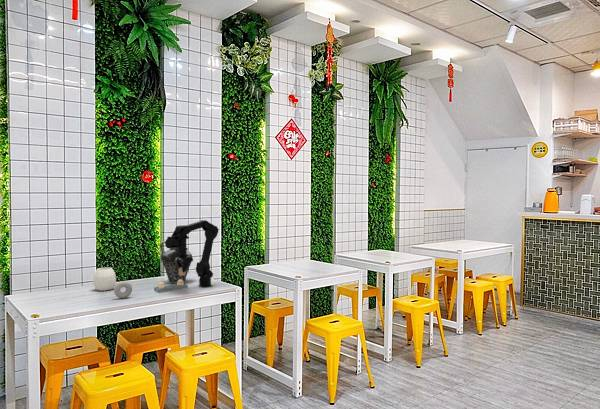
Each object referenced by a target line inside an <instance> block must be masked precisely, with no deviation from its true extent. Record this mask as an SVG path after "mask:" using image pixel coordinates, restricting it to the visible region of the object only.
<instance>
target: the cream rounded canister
mask: <svg viewBox="0 0 600 409" xmlns="http://www.w3.org/2000/svg"><path fill="white" fill-rule="evenodd" d="M92 279H93V286H94V289H95V290H96V291H101V292H103V291H104V292H107V291H111V290H114V288H115V286H116V284H117V276H116V272H115V270H114V269H113V268H112V267H108V266H106V267H99V268H96V270H95V272H94V275H93V278H92ZM106 290H107V291H106Z"/></svg>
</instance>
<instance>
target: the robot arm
mask: <svg viewBox="0 0 600 409" xmlns="http://www.w3.org/2000/svg"><path fill="white" fill-rule="evenodd" d="M199 229H202V231H204V236H205V242H204V247H203V249H202V255H201V258H200V261H199V262H196V267H195V272H196V274H197V277H199V281H198V287H200V288H210V287H213V285H212V277H213V275H214V273H213V272H212V270H211V265H210V257H211V252H212V250H213V245H214V244H213V243H214V241H215V239H216V238H217V236H218V234H219V227H218V226H217V225H214V224H213V223H211V222H209V221H208V220H206V219H204V220H203V219H201V220H199V221H196V222H193V223H192V222H191V223H190V224H185V225H177V226H175V228H174V230H173V233H172V234H171V235H170V236H167V237H166V240H165V241H166V242H165V243H164V245H165V247H166V249H170V248H175V247H177V248H176V249H175V251H174V252H172V253H169V254H168V258H169V260H173V259H175V260H174V261H175V262H176V263H177V265H178V268H180V267H182V271H183V273H184V272H185V271H186V268H187V266H188V264H189V262H191V263H192V262H194V258H193V256H192V257H190V256H188V255H187V251H189V247H188V246H187V245H188V244H187V239H190V237H189V234H190V233H191V232H192V231H196V230H199Z"/></svg>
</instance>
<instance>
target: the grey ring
mask: <svg viewBox="0 0 600 409" xmlns="http://www.w3.org/2000/svg"><path fill="white" fill-rule="evenodd" d="M122 288H125V291H124V292H122V290H121V289H122ZM132 292H133V286H132V284H131V283H130V282H128V281H126V280H123V281H119V282H116V285H115V287H114V288H113V293H114V295H115V296H116V297H117V298H118V299H126V298H128V297H130V295H131V294H132Z"/></svg>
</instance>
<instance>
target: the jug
mask: <svg viewBox="0 0 600 409" xmlns="http://www.w3.org/2000/svg"><path fill="white" fill-rule="evenodd" d="M165 242H166V240H163V241H161V242H160V243H159V244H160V245H159V248H160V251H161V256H160V259H161V262H162V265H163V267H164V270H165V273H166V276H167V279H168V283H170V284H177V281H178V280H180V279H182V280H183V281H184V282H185V281H186V278H187V276H188V272H189V269H190V267H191V264H192V262H189V264H188V266H187V268H186V275H184V276H179V268H178V265H177V263H176V262H175V261H174V260H175V259H173V260H169V258H168V254H169V253H172V252H174V251H175V249H176V248H177V247H175V248H168V250H166V251H165V250H164V247H163V246H164V244H165ZM187 255H188V256H190V257H192V258H193V254H192V253H191V251H189V250H187Z"/></svg>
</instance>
